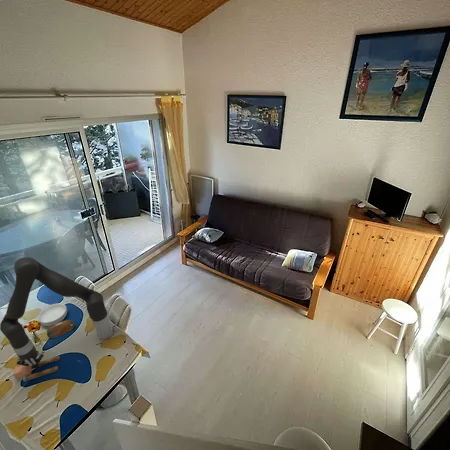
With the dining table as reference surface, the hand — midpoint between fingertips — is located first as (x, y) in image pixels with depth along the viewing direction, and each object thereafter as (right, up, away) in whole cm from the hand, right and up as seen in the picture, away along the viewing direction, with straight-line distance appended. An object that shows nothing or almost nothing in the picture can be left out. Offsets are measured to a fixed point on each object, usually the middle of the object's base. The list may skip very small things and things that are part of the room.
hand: (36, 366), depth 138 cm
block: (-6, -4, -1) cm, 7 cm away
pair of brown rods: (+2, -3, +2) cm, 4 cm away
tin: (0, +9, +23) cm, 25 cm away
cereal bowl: (-12, +14, +32) cm, 37 cm away
